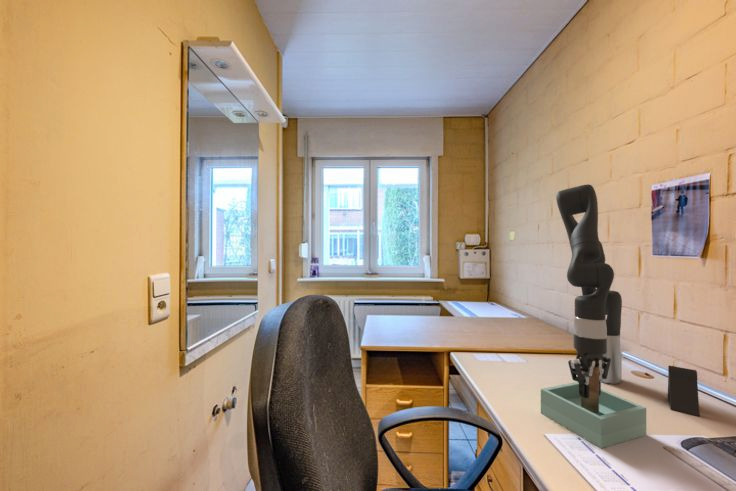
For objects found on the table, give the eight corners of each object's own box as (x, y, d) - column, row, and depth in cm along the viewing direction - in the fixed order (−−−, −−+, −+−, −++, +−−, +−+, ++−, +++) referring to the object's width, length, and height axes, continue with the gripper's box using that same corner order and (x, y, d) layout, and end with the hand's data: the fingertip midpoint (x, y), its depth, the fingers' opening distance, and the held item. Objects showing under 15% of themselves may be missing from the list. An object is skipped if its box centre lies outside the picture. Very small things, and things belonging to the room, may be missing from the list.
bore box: (581, 403, 96) (581, 381, 96) (646, 434, 79) (646, 407, 80) (540, 412, 90) (540, 388, 90) (601, 448, 74) (601, 419, 74)
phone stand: (699, 417, 88) (699, 375, 88) (670, 409, 92) (670, 370, 92) (694, 405, 95) (694, 366, 95) (667, 398, 99) (667, 361, 99)
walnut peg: (587, 404, 87) (587, 362, 87) (602, 411, 84) (602, 367, 84) (577, 406, 86) (577, 364, 86) (592, 413, 82) (592, 369, 82)
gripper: (593, 328, 91) (593, 386, 91) (558, 332, 86) (558, 393, 86) (621, 335, 84) (622, 398, 84) (585, 339, 79) (585, 406, 79)
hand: (589, 395), depth 85 cm, fingers closed on walnut peg, 4 cm apart
